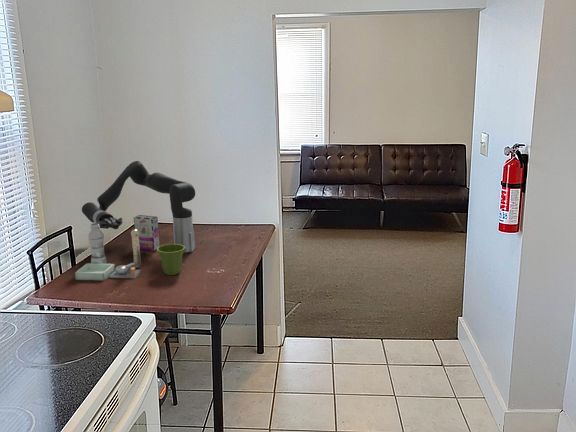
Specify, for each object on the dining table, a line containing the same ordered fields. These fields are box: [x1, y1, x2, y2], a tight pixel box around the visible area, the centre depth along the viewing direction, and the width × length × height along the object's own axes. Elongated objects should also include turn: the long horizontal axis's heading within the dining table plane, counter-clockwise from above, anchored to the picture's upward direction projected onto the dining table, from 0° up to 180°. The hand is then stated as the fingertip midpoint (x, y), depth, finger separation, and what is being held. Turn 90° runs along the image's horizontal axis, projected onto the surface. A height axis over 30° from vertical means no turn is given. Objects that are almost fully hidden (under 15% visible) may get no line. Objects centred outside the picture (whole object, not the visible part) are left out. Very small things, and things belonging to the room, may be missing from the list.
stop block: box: [131, 267, 136, 275], centre depth 233 cm, size 2×3×3 cm, turn 18°
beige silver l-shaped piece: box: [115, 228, 142, 274], centre depth 236 cm, size 13×5×17 cm, turn 148°
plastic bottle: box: [87, 222, 108, 264], centre depth 242 cm, size 6×7×20 cm
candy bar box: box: [133, 214, 161, 252], centre depth 269 cm, size 11×5×16 cm, turn 68°
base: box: [108, 269, 142, 279], centre depth 235 cm, size 11×8×1 cm
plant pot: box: [156, 243, 185, 276], centre depth 236 cm, size 12×12×11 cm
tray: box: [74, 262, 116, 281], centre depth 234 cm, size 13×12×3 cm
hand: (116, 227), depth 251 cm, fingers closed
